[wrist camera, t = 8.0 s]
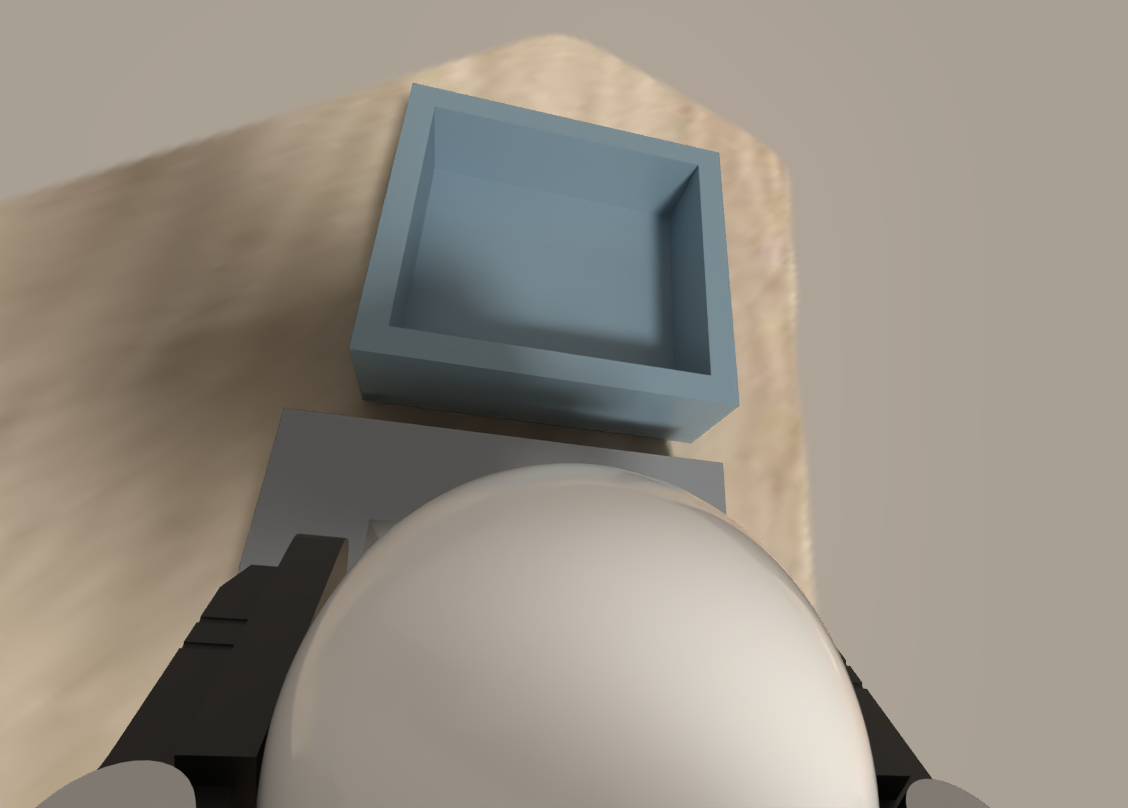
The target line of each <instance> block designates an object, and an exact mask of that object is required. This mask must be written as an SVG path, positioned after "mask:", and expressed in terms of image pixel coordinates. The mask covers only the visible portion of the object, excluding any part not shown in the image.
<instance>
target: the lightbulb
mask: <svg viewBox="0 0 1128 808" xmlns="http://www.w3.org/2000/svg"><path fill="white" fill-rule="evenodd" d="M256 808H880V807H879V796H878V787H877V779H876V772H875V766H874V760H873V755H872V750H871V745H870V741H869V737H868V732H867V728H866V725H865V721H864V717H863V714H862V711H861V707H860V704H859V701H858V698H857V696H856V693H855V690H854V687H853V684H852V682H851V679H850V677H849V674H848V672H847V669H846V667H845V665H844V662H843V660H842V658H841V656H840V654H839V652H838V649H837V647H836V646H835V644H834V642H833V640H832V638H831V636H830V634H829V632H828V630H827V628H826V627H825V625H824V623H823V621H822V620H821V618H820V617H819V615H818V613H817V612H816V610H815V609H814V607H813V606H812V604H811V603H810V601H809V600H808V598H807V597H806V595H805V594H804V593H803V591H802V590H801V588H800V587H799V586H798V584H797V583H796V582H795V581H794V579H793V578H792V577H791V576H790V574H789V573H788V572H787V571H786V570H785V568H784V567H783V566H782V565H781V564H780V563H779V562H778V561H777V559H776V558H775V557H774V556H773V555H772V554H771V553H770V552H769V551H768V550H767V549H766V548H765V547H764V546H763V545H762V544H761V543H760V542H759V541H758V540H756V539H755V538H754V537H753V536H752V535H751V534H750V533H749V532H747V531H746V530H745V529H744V528H743V527H741V526H740V525H739V524H738V523H736V522H735V521H734V520H732V519H731V518H730V517H728V516H727V515H725V514H724V513H722V512H721V511H720V510H718V509H717V508H715V507H714V506H712V505H710V504H709V503H707V502H705V501H704V500H702V499H700V498H699V497H697V496H695V495H693V494H691V493H689V492H687V491H685V490H683V489H681V488H679V487H677V486H675V485H672V484H670V483H668V482H665V481H662V480H660V479H657V478H655V477H652V476H649V475H646V474H643V473H639V472H636V471H632V470H628V469H624V468H619V467H614V466H608V465H601V464H593V463H579V462H554V463H541V464H532V465H525V466H520V467H515V468H510V469H506V470H502V471H498V472H495V473H491V474H488V475H485V476H482V477H479V478H477V479H474V480H471V481H469V482H467V483H464V484H462V485H460V486H457V487H455V488H453V489H451V490H449V491H447V492H445V493H443V494H441V495H439V496H438V497H436V498H434V499H432V500H431V501H429V502H427V503H426V504H424V505H422V506H421V507H419V508H418V509H416V510H415V511H413V512H412V513H410V514H409V515H408V516H406V517H405V518H404V519H402V520H401V521H400V522H398V523H397V524H396V525H395V526H393V527H392V528H391V529H390V530H388V531H387V532H386V533H385V534H384V535H383V536H381V537H380V538H379V539H378V540H377V541H376V542H375V543H374V544H373V545H372V546H371V547H370V548H369V549H368V550H367V551H366V552H365V553H364V554H363V555H362V556H361V557H360V558H359V559H358V560H357V561H356V562H355V564H354V565H353V566H352V567H351V568H350V569H349V571H348V572H347V573H346V574H345V575H344V577H343V578H342V579H341V580H340V582H339V583H338V584H337V586H336V587H335V588H334V590H333V591H332V593H331V594H330V595H329V597H328V598H327V600H326V601H325V603H324V604H323V606H322V607H321V609H320V610H319V612H318V614H317V615H316V617H315V619H314V620H313V622H312V624H311V625H310V627H309V629H308V631H307V633H306V634H305V636H304V638H303V640H302V642H301V644H300V646H299V648H298V650H297V652H296V654H295V656H294V658H293V661H292V663H291V665H290V667H289V670H288V672H287V675H286V677H285V680H284V682H283V685H282V687H281V690H280V693H279V696H278V699H277V702H276V705H275V708H274V711H273V715H272V718H271V722H270V726H269V730H268V734H267V738H266V742H265V746H264V751H263V756H262V762H261V768H260V774H259V782H258V791H257V800H256Z"/></svg>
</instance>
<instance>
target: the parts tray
mask: <svg viewBox="0 0 1128 808" xmlns="http://www.w3.org/2000/svg"><path fill="white" fill-rule="evenodd" d="M349 351H350V355H351V358H352V362H353V365H354V369H355V373H356V376H357V380H358V383H359V387H360V391H361V394H362V398H363V400H367V401H375V402H383V403H390V404H398V405H406V406H413V407H421V408H429V409H436V410H444V411H451V412H459V413H467V414H474V415H482V416H490V417H497V418H505V419H513V420H520V421H528V422H536V423H543V424H551V425H558V426H566V427H574V428H581V429H589V430H597V431H604V432H612V433H620V434H627V435H635V436H643V437H650V438H658V439H665V440H673V441H681V442H688V443H692V442H693V441H695V440H696V439H697V438H698V437H700V436H701V435H702V434H704V433H705V432H706V431H707V430H709V429H710V428H711V427H712V426H714V425H715V424H716V423H718V422H719V421H720V420H721V419H723V418H724V417H725V416H727V415H728V414H729V413H730V412H732V411H733V410H734V409H736V408H737V407H738V406H739V393H738V381H737V368H736V356H735V343H734V331H733V318H732V306H731V294H730V281H729V269H728V256H727V244H726V232H725V219H724V207H723V194H722V182H721V170H720V157H719V153H718V152H713V151H709V150H705V149H700V148H696V147H691V146H687V145H683V144H678V143H674V142H670V141H665V140H661V139H656V138H652V137H648V136H643V135H639V134H635V133H630V132H626V131H621V130H617V129H613V128H608V127H604V126H600V125H595V124H591V123H586V122H582V121H578V120H573V119H569V118H565V117H560V116H556V115H551V114H547V113H543V112H538V111H534V110H529V109H525V108H521V107H516V106H512V105H508V104H503V103H499V102H494V101H490V100H486V99H481V98H477V97H473V96H468V95H464V94H459V93H455V92H451V91H446V90H442V89H438V88H433V87H429V86H424V85H420V84H416V83H413V84H412V88H411V92H410V96H409V101H408V105H407V109H406V113H405V117H404V121H403V126H402V130H401V134H400V138H399V142H398V146H397V150H396V155H395V159H394V163H393V167H392V171H391V175H390V180H389V184H388V188H387V192H386V196H385V200H384V204H383V209H382V213H381V217H380V221H379V225H378V229H377V234H376V238H375V242H374V246H373V250H372V254H371V258H370V263H369V267H368V271H367V275H366V279H365V283H364V288H363V292H362V296H361V300H360V304H359V308H358V312H357V317H356V321H355V325H354V329H353V333H352V337H351V342H350V346H349Z"/></svg>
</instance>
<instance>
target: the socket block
mask: <svg viewBox="0 0 1128 808" xmlns="http://www.w3.org/2000/svg"><path fill="white" fill-rule="evenodd" d="M554 462H579V463H593V464H601V465H608V466H614V467H619V468H624V469H628V470H632V471H636V472H639V473H643V474H646V475H649V476H652V477H655V478H657V479H660V480H662V481H665V482H668V483H670V484H672V485H675V486H677V487H679V488H681V489H683V490H685V491H687V492H689V493H691V494H693V495H695V496H697V497H699V498H700V499H702V500H704V501H705V502H707V503H709V504H710V505H712V506H714V507H715V508H717V509H718V510H720V511H721V512H722V513H724V514H725V515H726V502H725V487H724V471H723V463H719V462H711V461H703V460H695V459H687V458H679V457H671V456H663V455H655V454H647V453H639V452H631V451H623V450H615V449H607V448H599V447H591V446H583V445H575V444H567V443H559V442H551V441H544V440H536V439H528V438H520V437H512V436H504V435H496V434H488V433H480V432H472V431H464V430H456V429H448V428H440V427H432V426H424V425H416V424H408V423H400V422H392V421H384V420H376V419H368V418H360V417H352V416H344V415H336V414H328V413H320V412H313V411H305V410H297V409H289V408H284V410H283V413H282V417H281V420H280V424H279V427H278V431H277V434H276V438H275V442H274V445H273V449H272V452H271V456H270V459H269V463H268V467H267V470H266V474H265V477H264V481H263V484H262V488H261V491H260V495H259V499H258V502H257V506H256V509H255V513H254V516H253V520H252V524H251V527H250V531H249V534H248V538H247V541H246V545H245V548H244V552H243V556H242V559H241V563H240V566H239V570H238V573H237V575H238V574H239V573H240V572H242V571H243V570H244V569H246V568H247V567H249V566H250V565H251V564H252V565H264V566H276V567H278V565H279V563H280V561H281V560H282V558H283V556H284V554H285V552H286V550H287V549H288V547H289V545H290V543H291V541H292V540H293V538H294V537H295V535H296V534H309V535H320V536H331V537H341V538H348V541H349V553H348V565H347V572H348V571H349V569H350V568H351V567H352V566H353V565H354V564H355V562H356V561H357V560H358V559H359V558H360V557H361V556H362V555H363V554H364V553H365V552H366V551H367V550H368V549H369V548H370V547H371V546H372V545H373V544H374V543H375V542H376V541H377V540H378V539H379V538H380V537H381V536H383V535H384V534H385V533H386V532H387V531H388V530H390V529H391V528H392V527H393V526H395V525H396V524H397V523H398V522H400V521H401V520H402V519H404V518H405V517H406V516H408V515H409V514H410V513H412V512H413V511H415V510H416V509H418V508H419V507H421V506H422V505H424V504H426V503H427V502H429V501H431V500H432V499H434V498H436V497H438V496H439V495H441V494H443V493H445V492H447V491H449V490H451V489H453V488H455V487H457V486H460V485H462V484H464V483H467V482H469V481H471V480H474V479H477V478H479V477H482V476H485V475H488V474H491V473H495V472H498V471H502V470H506V469H510V468H515V467H520V466H525V465H532V464H541V463H554Z"/></svg>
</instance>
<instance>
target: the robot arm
mask: <svg viewBox="0 0 1128 808" xmlns="http://www.w3.org/2000/svg"><path fill="white" fill-rule="evenodd" d="M348 553H349V541H348V538H341V537H331V536H320V535H309V534H296V535H295V537H294V538H293V540H292V541H291V543H290V545H289V547H288V549H287V550H286V552H285V554H284V556H283V558H282V560H281V561H280V563H279V565H278V567H276V566H264V565H252V564H251V565H250V566H249V567H247V568H246V569H244V570H243V571H242V572H240V573H239V574H238V575H236V576H235V577H233V578H232V579H231V580H229V581H228V582H227V583H225V584H224V585H222V586H221V587H220V588H219V590H218V591H217V593H216V594H215V596H214V597H213V599H212V600H211V602H210V603H209V605H208V606H207V608H206V609H205V611H204V612H203V614H202V615H201V618H200V621H199V622H197V623H196V624H195V626H194V627H193V629H192V630H191V632H190V633H189V635H188V636H187V638H186V639H185V641H184V645H183V647H182V648H179V650H178V651H177V653H176V654H175V656H174V657H173V659H172V660H171V662H170V663H169V665H168V667H167V668H166V670H165V671H164V673H163V674H162V676H161V677H160V679H159V680H158V682H157V683H156V685H155V686H154V688H153V689H152V691H151V692H150V694H149V695H148V697H147V698H146V700H145V701H144V703H143V704H142V706H141V707H140V709H139V710H138V712H137V713H136V715H135V716H134V718H133V719H132V721H131V722H130V724H129V725H128V727H127V728H126V730H125V731H124V733H123V734H122V736H121V737H120V739H119V740H118V742H117V743H116V745H115V746H114V748H113V749H112V751H111V752H110V754H109V755H108V757H107V758H106V759H105V761H104V762H103V763H102V765H101V766H100V767H99V768H98V769H97V770H96V771H94V772H91V773H89V774H86V775H84V776H82V777H81V778H79V779H77V780H75V781H73V782H71V783H69V784H68V785H66V786H64V787H63V788H61V789H60V790H58V791H57V792H55V793H54V794H52V795H51V796H50V797H48V798H47V799H46V800H45V801H43V802H42V803H41V804H39V805H38V806H37V807H36V808H256V800H257V791H258V782H259V774H260V768H261V762H262V756H263V751H264V746H265V742H266V738H267V734H268V730H269V726H270V722H271V718H272V715H273V711H274V708H275V705H276V702H277V699H278V696H279V693H280V690H281V687H282V685H283V682H284V680H285V677H286V675H287V672H288V670H289V667H290V665H291V663H292V661H293V658H294V656H295V654H296V652H297V650H298V648H299V646H300V644H301V642H302V640H303V638H304V636H305V634H306V633H307V631H308V629H309V627H310V625H311V624H312V622H313V620H314V619H315V617H316V615H317V614H318V612H319V610H320V609H321V607H322V606H323V604H324V603H325V601H326V600H327V598H328V597H329V595H330V594H331V593H332V591H333V590H334V588H335V587H336V586H337V584H338V583H339V582H340V580H341V579H342V578H343V577H344V575H345V574H346V573H347V565H348ZM838 652H839V650H838ZM839 654H840V656H841V658H842V660H843V662H844V665H845V667H846V669H847V672H848V674H849V677H850V679H851V682H852V684H853V687H854V690H855V693H856V696H857V698H858V701H859V704H860V707H861V711H862V714H863V717H864V721H865V725H866V728H867V732H868V737H869V741H870V745H871V750H872V755H873V760H874V766H875V772H876V779H877V787H878V796H879V807H880V808H990V807H989V806H987V805H986V804H985V803H983V802H982V801H980V800H979V799H978V798H976V797H975V796H973V795H971V794H970V793H968V792H966V791H965V790H963V789H961V788H958V787H957V786H954V785H952V784H949V783H947V782H944V781H939V780H935V779H932V778H931V776H930V775H929V774H928V772H927V771H926V770H925V768H924V767H923V765H922V764H921V763H920V761H919V760H918V759H917V757H916V756H915V754H914V753H913V752H912V750H911V749H910V748H909V746H908V745H907V744H906V742H905V741H904V740H903V738H902V737H901V735H900V734H899V732H898V731H897V730H896V729H895V727H894V726H893V724H892V723H891V722H890V720H889V719H888V717H887V716H886V715H885V713H884V712H883V711H882V709H881V708H880V707H879V705H878V704H877V702H876V701H875V700H874V699H873V697H872V696H871V694H870V693H869V691H868V690H867V689H863V687H862V682H861V681H860V679H859V678H858V676H857V675H856V674H855V672H854V671H853V670H852V668H851V667H850V666H847V665H846V660H845V658H844V657H843V656H842V654H841V653H840V652H839Z"/></svg>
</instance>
